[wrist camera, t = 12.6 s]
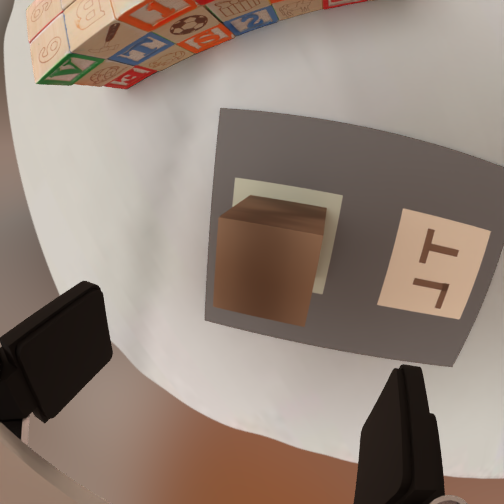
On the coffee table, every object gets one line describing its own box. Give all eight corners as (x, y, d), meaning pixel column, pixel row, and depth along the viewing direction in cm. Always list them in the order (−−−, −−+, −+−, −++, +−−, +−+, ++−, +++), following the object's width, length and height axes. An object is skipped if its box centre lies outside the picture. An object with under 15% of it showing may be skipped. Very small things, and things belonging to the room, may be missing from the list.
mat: (518, 173, 15) (520, 174, 15) (451, 365, 21) (452, 367, 21) (221, 108, 19) (219, 108, 19) (205, 318, 25) (204, 320, 25)
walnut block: (326, 207, 20) (323, 235, 14) (313, 278, 22) (304, 326, 16) (250, 194, 21) (218, 217, 15) (242, 265, 23) (212, 306, 17)
